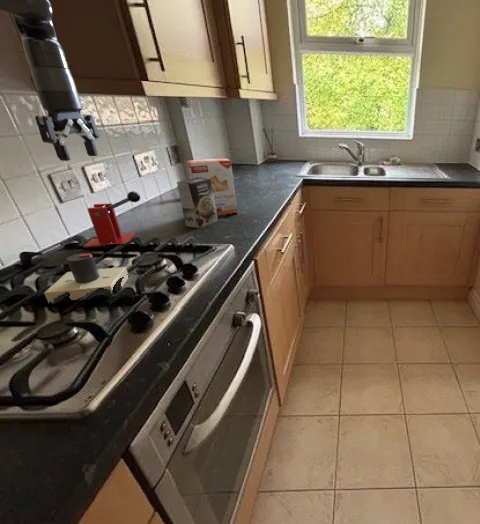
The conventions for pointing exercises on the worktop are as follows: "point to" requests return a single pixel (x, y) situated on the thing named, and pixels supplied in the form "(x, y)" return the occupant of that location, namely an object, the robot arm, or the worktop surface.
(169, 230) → the worktop surface
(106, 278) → the panel
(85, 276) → the knob
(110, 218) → the red lever stand
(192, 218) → the coffee box
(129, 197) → the lever
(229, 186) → the cracker box
